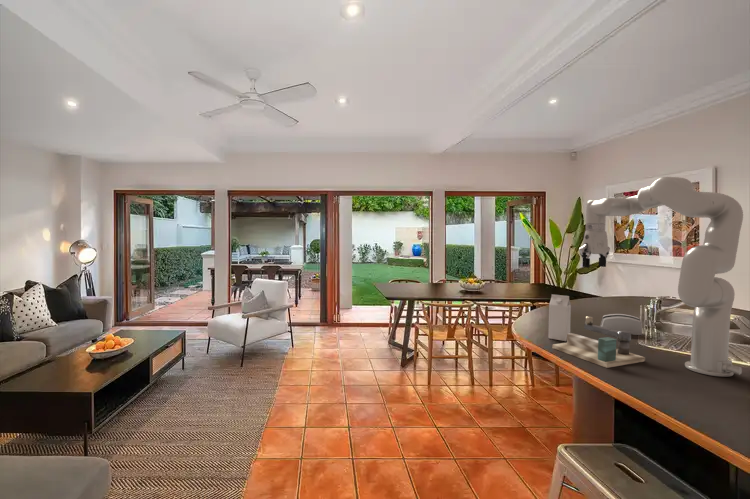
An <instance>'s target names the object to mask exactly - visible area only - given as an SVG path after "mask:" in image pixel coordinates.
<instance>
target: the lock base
mask: <svg viewBox="0 0 750 499" xmlns="http://www.w3.org/2000/svg"><path fill="white" fill-rule="evenodd" d="M552 349H553V350H557V351H559V352H562V353H564V354H567V355H570V356H572V357H575V358H578V359H581V360H584V361H587V362H589V363H592V364H595V365H597V366H599V367H600V366H601V367H603V368H606V369H607V368H614V367H619V366H625V365H632V364H637V363H643V362H645V361H646V357H645V356H642V355H639V354H636V353H632V352H630V342H624V341H619V340H617V338H615V337H611V336H609V337H608V336H606V337H599V338H598V340H597V339H594V338H592V337H591V338H590V337H587V336H583V335H582V334H581V335H580V334H577V333H574V332H573V333H572V332H570V333H569V334H567V341H566V342H561V343H554V344H552Z"/></svg>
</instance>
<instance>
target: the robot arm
mask: <svg viewBox="0 0 750 499" xmlns="http://www.w3.org/2000/svg"><path fill="white" fill-rule="evenodd" d="M585 205H586V207H585V208H586V209H585V231H584V234H583V242H582V244H583V245H581V247H579V248H578V251H579V255H580V256H581V259H582V268H590V264H591V258H590V256H591V255H599V257H598V267H601V268H602V267H603V268H606V267H607V258H608V255H609V254H610V251H611V247H610V246H608V244H609V243H608V234H607V231H606V220H607V217H626V216H632V215H635V214H640V213H643V212H646V211H648V210H650V209H655V208H657V207H661V206H665V207H667V208H668V209H669V208H670V210H673V211H674V212H676V213H679V214H680V215H683V216H685V217H688V218H699V219H700V218H708V219H709V220H710V222H709V224H708V225H707V227H706V229H705V232H704V233H705V234H704V239H703V242H702V245H696V246H693V247H691V248H690V249H688V250H687V251H686V252H685V254H684V256H683V257H682V260H681V266H680V273H679V277H678V278H679V279H678V286H677V294H678V297H679V299H680V301H681V302H682V303H683V304H684V305H686V306H688V307H690V308H694V309H693V315H692V322H691V324H692V325H691V326H692V327H691V349H690V350H691V351H690V360H688V361H685V362H684V366H685V368H686V369H688V370H690V371H693V372H695V373H698V374H703V375H708V376H711V377H712V376H713V377H723V378H724V377H726V378H727V377H733V376H734V374H735V375H742V373H743V368H742V367H740V366H737V365H733V360H731V359H729V350H730V349H729V346H730V328H731V313H732V308H733V304H734V300H735V295H736V294H735V289H734V287H733V285H732V283H730V282H729V281H728V280H726V279H724V278H721V277H717V276H715V275H718V274H719V275H720V274H725V273H728V272H730V271H732V270H733V268H734V267H735V264H736V258H737V252H738V248H739V242H740V241H739V240H740V236H741V229H742V225H743V220H744V210H743V208H742V206H741V204H740V203H739V202H738V200H736V198H734V197H732V196H730V195H728V194H724V193H721V192H712V191H709V192H708V191H697V190H695V188H694V185H693V183H692V182H691V180H689V179H687V178H686V177H685V178H684V177H676V176H662V177H659V178H657V179H655V180H653V182H652V183H651V185H646V186H643V187H642V188H640V189H639V190H638V191H637V195H633V196H629V197H623V198H621V197H619V198H618V197H606V198H601V199H589V200H587V202H586V204H585Z"/></svg>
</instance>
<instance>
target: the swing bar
mask: <svg viewBox="0 0 750 499" xmlns="http://www.w3.org/2000/svg"><path fill="white" fill-rule="evenodd" d="M584 318H585V321H584V328H583V329H584V330H588V331H591V332H595V333H598V334H601V335H606V336H609V337H611V338H615V339H616V341H618V340H619V341H624V342H629V343H630V342H631V341H632V334H631V332H628V331H616V330H612V329H609V328H605V327H601V326H600V325H598V324H597V325H596V324H593V323H594V322H593V321H594V320H593V319H594V317H593V316H587V315H586V316H585V317H584Z"/></svg>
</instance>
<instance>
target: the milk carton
mask: <svg viewBox="0 0 750 499" xmlns="http://www.w3.org/2000/svg"><path fill="white" fill-rule="evenodd" d="M571 307H572V302H571V300H570V296H569V295H560V294H552V293H551V296H550V301H549V304H548V339H550V340H558V341H564V342H567V334H569V333H571V315H572V314H571V311H572V310H571V309H572V308H571Z"/></svg>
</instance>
